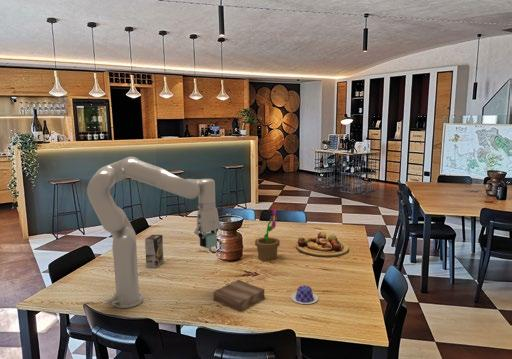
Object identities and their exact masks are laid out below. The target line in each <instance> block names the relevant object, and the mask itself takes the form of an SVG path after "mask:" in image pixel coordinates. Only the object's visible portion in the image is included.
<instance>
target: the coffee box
mask: <svg viewBox="0 0 512 359" xmlns="http://www.w3.org/2000/svg"><path fill="white" fill-rule="evenodd" d="M163 240H164V239H163V234H151V235H150V236H148V237H146V238H145V239H144V244H145V246H144V248H145V249H144V250H145V266H146V268H154V269H157V268H158V267H159V266H161V265H162V264H164V262H165V261H164V244H163V243H164V242H163Z"/></svg>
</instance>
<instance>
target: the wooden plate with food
mask: <svg viewBox="0 0 512 359" xmlns="http://www.w3.org/2000/svg"><path fill="white" fill-rule="evenodd" d="M295 247H296V250H297V251H299V252H300V253H303V254H304V255H306V256H309V257H310V256H311V257H315V258H338V257H340V256H344V255H345V254H346V255H347V253H348V252H349V249H350V248H349V246H348V244H346V243H345V242H343V241H341V240H338V237H337V236H336V235H335V234H330V235H329V236H328V237H327V235H326V232H323V231H319V233H318V234H317V236H316V237H306V238H304V237H303V236H302V237H301V236H300V237H298V239H297V242H296V244H295Z"/></svg>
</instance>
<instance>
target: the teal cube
mask: <svg viewBox="0 0 512 359" xmlns="http://www.w3.org/2000/svg"><path fill="white" fill-rule="evenodd" d="M202 235H203V233H202ZM217 235H218V233H217V234H214V233H211V231H210V232H206V234H205V238H206V247H203V246H201V245H200V244H199V246H200V247H202V248H205V249H211V248H214V247H217V246H218V243H217V242H218V241H217V240H218V238H217Z"/></svg>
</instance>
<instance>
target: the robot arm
mask: <svg viewBox="0 0 512 359" xmlns="http://www.w3.org/2000/svg"><path fill="white" fill-rule="evenodd" d="M128 178H129V179H131V180H135V181H137V182H140V183H144V184H147V185H149V186H153V187H155V188H158V189H160V190H162V191H165V192H169V193H171V194H173V195H175V196H178V197H182V198H185V199H188V200H193V199H194V200H195V199H196V198H197V197H198V205H197V209H198V210H197V214H196V215H197V216H196V227H195V230H194V234H195V235H197V237H198V238H199V246H200V245H201V246H203V247H202V248H204V247H206V238H205V234H206V232H211V233H214V234H217V235H218V231H219V229H220V228H221V223H220V219H219V218H220V217H219V212H218V211H219V210H218V208H217V207H216V206H217V205H216V183H215V182H216V181H215V180H214V179H212V178H200V179H198V178H197V179H195V178H194V179H193V178H186V179H185V178H183V177H180V176H178V175H175V174H173V173H171V172H169V171H168V170H167V169H164V168H162V167H160V166H158V165H154V164H151V163H148V162H145V161H143V160H140V159H139V158H137V157H135V156H128V157H125V158H122V159H120V160H118V161H115V162H112V163H110V164H107V165H104V166H102V167H100V168H99V169H97V171H96V172H95V173H94V174H93V176H92V177H91V179H89V180H90V181H88V184H87V189H86V193H87V197H88V200H89V202H90V204H91V206H92V209H93V210H94V213H95V214H96V215H97V218H98V220H99V222H100V225H101V226H102V228H103V229H104V231H107V232H108V233H110V235H111V236H112V245H111V246H112V247H111V248H112V257H113V269H114V280H115V293H114V294H113V296H112V297H111V298H107V299H106V300H105V304H106V305H110V304H111V305H113V306H114V307H115V308H118V309H129V308H133V307H136V306H139V305H140V304H142V303H143V301H144V295H142V294H141V293H140V285H139V284H140V283H139V271H138V270H139V268H138V258H137V257H138V252H137V249H138V248H137V236H136V235H137V234H136V231H135V229H134V228H133V226H132V224H131V221H130V220H129V219H128V216H127V215H126V212H125V211H124V210H123V209H122V208H121V207H119V206H117V204H116V202H115V200H114V198H113V196H112V195H111V192H110V191H111V188H112V187H113V186H114V185H115V184H116V183H118V182H121V181H123V180H126V179H128ZM202 234H203V235H202ZM201 246H200V247H201Z"/></svg>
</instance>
